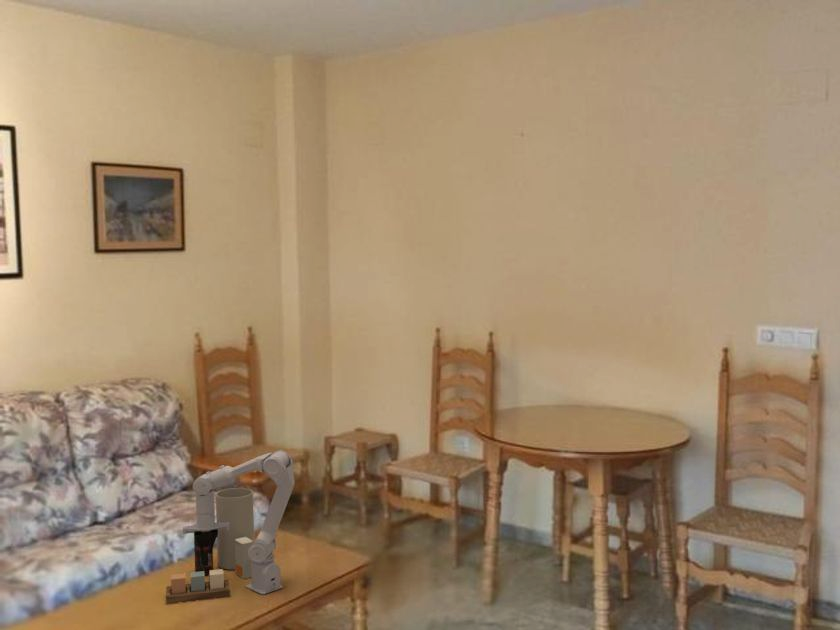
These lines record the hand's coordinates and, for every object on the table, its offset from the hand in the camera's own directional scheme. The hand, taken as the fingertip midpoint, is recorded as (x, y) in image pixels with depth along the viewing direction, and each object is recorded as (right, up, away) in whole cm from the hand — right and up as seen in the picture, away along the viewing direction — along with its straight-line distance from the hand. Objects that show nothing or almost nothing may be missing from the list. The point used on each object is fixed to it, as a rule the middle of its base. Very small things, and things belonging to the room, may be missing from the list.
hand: (206, 553), depth 266 cm
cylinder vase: (+5, -9, +19) cm, 22 cm away
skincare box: (+10, -10, +9) cm, 17 cm away
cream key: (+5, -9, -6) cm, 12 cm away
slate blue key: (-1, -9, -8) cm, 12 cm away
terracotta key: (-6, -9, -9) cm, 14 cm away
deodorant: (-4, -10, +11) cm, 15 cm away
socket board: (-1, -11, -7) cm, 13 cm away
